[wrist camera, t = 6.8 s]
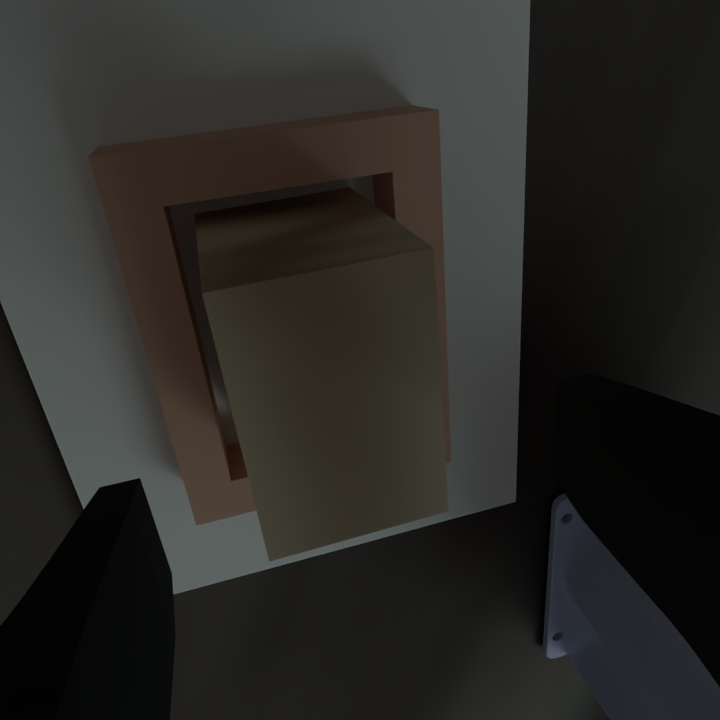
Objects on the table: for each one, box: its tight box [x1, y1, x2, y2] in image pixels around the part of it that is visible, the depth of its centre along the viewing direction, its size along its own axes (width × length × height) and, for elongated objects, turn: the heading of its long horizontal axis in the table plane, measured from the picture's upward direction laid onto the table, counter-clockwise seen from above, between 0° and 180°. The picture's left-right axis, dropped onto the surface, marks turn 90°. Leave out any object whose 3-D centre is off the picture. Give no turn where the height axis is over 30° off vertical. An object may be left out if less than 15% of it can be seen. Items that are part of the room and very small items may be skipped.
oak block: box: [194, 187, 449, 562], centre depth 14 cm, size 4×6×6 cm, turn 7°
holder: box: [0, 0, 530, 594], centre depth 16 cm, size 18×14×3 cm
